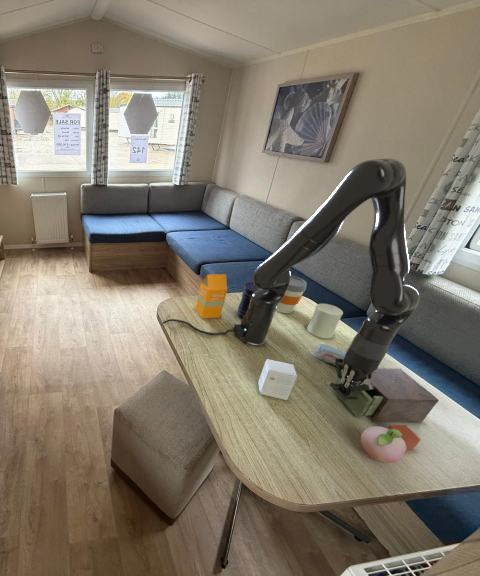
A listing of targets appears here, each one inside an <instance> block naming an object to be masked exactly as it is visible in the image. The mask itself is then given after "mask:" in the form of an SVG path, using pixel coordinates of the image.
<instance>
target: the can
mask: <svg viewBox="0 0 480 576" xmlns="http://www.w3.org/2000/svg"><path fill="white" fill-rule="evenodd" d="M343 314H344V311H343V310H342V309H340V308H339V307H337V306H335V305H332V304H329V303H318V304H316V307H315V308H314V312H313V313H312V316H311V318H310V321H309V323H308V326H307V327H306V330H307V331H308V332H309V333H310V334H311V335H313V336H315V337H318V338H321V339H331V338H332V337H333V335H334V332H335V330H336V329H337V327H338V324H339V322H340V320H341V318H342V316H343Z"/></svg>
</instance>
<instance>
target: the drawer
mask: <svg viewBox="0 0 480 576" xmlns="http://www.w3.org/2000/svg"><path fill="white" fill-rule="evenodd" d="M342 372H343V370H341V373H342ZM362 382H364V381H361V383H359V384H358V385H357V386H359V385H360V384H362ZM340 384H341V379H340V378H338V377H337V378H336V380H335V382H333V381H332V382H329V384H328V386H330V387H331V390H332V391H333V392H334V393H335V395H336V396H338V398H339V399H340V400H341V401H342V402H343V403H344V404H345V406H346V407H347V408H348V409H349V411H351V412H352V413H353V414H354V416H355V417H356V418H357V419H362V418H363V416H367V415H370V416H374V415H375V413H376V412H377V410H378V409H379V407H380V406H381V404H382V403H383V401H384V400H385V398H384V397H383V396H381V395H380V394H379V393H378V392H377V391H376V390H375V389H373V390H365V391H351V393H350V395H349V396H345V395H344V394H343V392H342V391H341V390H340V389H339V388H338V387H339V385H340Z"/></svg>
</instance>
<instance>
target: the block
mask: <svg viewBox="0 0 480 576" xmlns="http://www.w3.org/2000/svg"><path fill="white" fill-rule="evenodd" d="M387 429H396V430H398V431H400V432H401V433H402V437H401V438H402V439H403V440H404V442H405V444H406V451H413V450H414V449H415V448H416V447H417V445H418V444H419V443H420V441H421V440H422V439H421V438H420V437H419V436H418V435H417V434H416V433H414V431H413V430H411V428H410V427H408V426H407V424H390V425H389V426H388V427H387Z"/></svg>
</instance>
